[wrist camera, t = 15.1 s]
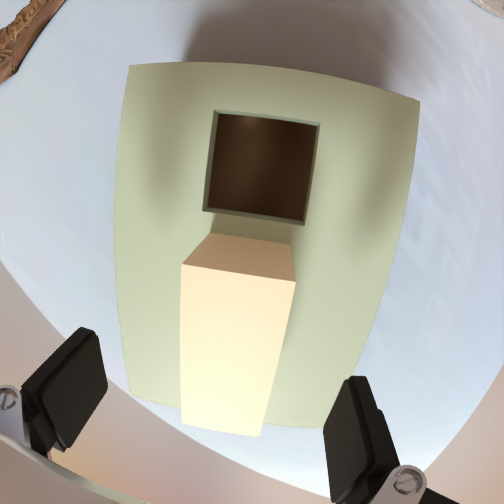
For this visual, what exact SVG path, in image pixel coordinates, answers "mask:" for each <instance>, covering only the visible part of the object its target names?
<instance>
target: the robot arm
mask: <svg viewBox="0 0 504 504" xmlns="http://www.w3.org/2000/svg"><path fill="white" fill-rule="evenodd" d="M472 1H473V2H474V3H476V4H477V5H479V6H480V7H482V8H483V9H485V10H487V11H488V12H490V13H492V14H494V15H496V16H499V17H503V18H504V0H472ZM21 388H22V389H21V390H20V391H19V390H18V389H17V388H15V387H14V386H11V385H2V386H0V504H152V503H149V502H146V501H142V500H140V499H136V498H134V497H131V496H128V495H125V494H122V493H120V492H117V491H115V490H112V489H109V488H107V487H105V486H102V485H100V484H97V483H95V482H93V481H90V480H89V479H86V478H84V477H82V476H80V475H77V474H76V473H73V472H72V471H70V470H68V469H66V468H64V467H62V466H60V465H58V464H56V463H55V462H53V461H52V457H51V452H50V450H51V448H52V447H54V448H56V449H58V450H60V451H61V452H65V450H66V448H70V447H71V446H72V445H73V443H74V442H75V440H76V438H77V437H78V435H79V434H80V432H81V430H82V429H83V427H84V426H85V424H86V422H87V421H88V419H89V418H90V416H91V415H92V413H93V412H94V410H95V409H96V407H97V405H98V404H99V403H100V401H101V399H102V398H103V396H104V395H105V393H106V392H107V388H108V383H107V378H106V374H105V369H104V364H103V359H102V354H101V349H100V343H99V338H98V336H97V335H96V334H95V332H94V331H93V330H90V329H87V328H84V327H80V328H78V329H77V330H76V331H75V332H74V333H73V334H72V335H71V336H70V337H69V338H68V339H67V340H66V341H65V342H64V343H63V344H62V345H61V346H60V347H59V348H58V349H57V350H56V351H55V352H54V353H53V354H52V355H51V356H50V357H49V358H48V359H47V360H46V361H45V362H44V363H43V364H42V365H41V366H40V367H39V368H38V369H37V370H36V371H35V372H34V373H33V374H32V375H31V376H30V377H29V378H28V379H27V381H26V382H25V383H24V384H23V385H22V386H21ZM323 435H324V443H325V451H326V460H327V468H328V477H329V486H330V496H331V501H332V503H336V504H459V503H457V502H455V501H453V500H451V499H449V498H447V497H445V496H443V495H440V494H438V493H436V492H434V491H432V490H430V489H429V488H427V487H426V485H427V482H426V477H425V475H424V473H423V472H422V471H421V470H420V469H418V468H417V467H415V466H411V465H402V466H400V463H399V460H398V456H397V453H396V450H395V447H394V444H393V441H392V438H391V435H390V432H389V429H388V426H387V423H386V420H385V417H384V414H383V412H382V411H381V410H380V409H378V408H377V405H376V402H375V399H374V397H373V394H372V391H371V388H370V385H369V383H368V380H367V378H366V377H365V376H350V377H349V379H345V380H344V382H343V384H342V386H341V388H340V391H339V393H338V395H337V398H336V400H335V402H334V404H333V407H332V409H331V411H330V413H329V415H328V417H327V419H326V421H325V424H324V427H323Z"/></svg>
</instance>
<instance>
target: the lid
mask: <svg viewBox="0 0 504 504" xmlns="http://www.w3.org/2000/svg"><path fill="white" fill-rule="evenodd" d="M419 111H420V101H417V100H415V99H412V98H409V97H406V96H403V95H400V94H397V93H394V92H391V91H388V90H384V89H381V88H378V87H374V86H371V85H367V84H363V83H359V82H355V81H351V80H347V79H343V78H339V77H334V76H329V75H324V74H319V73H314V72H308V71H302V70H296V69H289V68H282V67H274V66H265V65H255V64H242V63H224V62H170V63H152V64H140V65H130V67H129V72H128V77H127V82H126V88H125V94H124V100H123V107H122V114H121V121H120V129H119V138H118V148H117V160H116V174H115V194H114V258H115V279H116V293H117V305H118V315H119V324H120V333H121V341H122V348H123V354H124V361H125V367H126V373H127V378H128V384H129V389H130V394H131V395H132V396H135V397H138V398H142V399H145V400H148V401H152V402H155V403H159V404H163V405H166V406H170V407H174V408H178V409H182V423H184V424H188V425H192V426H197V427H202V428H207V429H212V430H217V431H222V432H228V433H234V434H241V435H248V436H255V437H259V433H260V430H261V426H262V424H268V425H277V426H288V427H301V428H320V429H323V427H324V424H325V421H326V419H327V417H328V415H329V413H330V411H331V409H332V407H333V404H334V402H335V400H336V398H337V395H338V393H339V391H340V388H341V386H342V384H343V382H344V380H345V379H349V377H350V376H352V375H353V373H354V371H355V368H356V366H357V364H358V361H359V359H360V356H361V354H362V351H363V349H364V346H365V344H366V341H367V339H368V336H369V333H370V331H371V328H372V325H373V322H374V319H375V317H376V314H377V311H378V308H379V305H380V302H381V299H382V296H383V293H384V289H385V286H386V283H387V280H388V276H389V273H390V269H391V266H392V262H393V259H394V255H395V251H396V247H397V243H398V239H399V235H400V231H401V227H402V222H403V218H404V213H405V208H406V204H407V199H408V193H409V188H410V182H411V176H412V170H413V164H414V157H415V149H416V141H417V133H418V123H419ZM219 113H222V114H234V115H245V116H254V117H263V118H271V119H278V120H285V121H291V122H298V123H304V124H309V125H315V126H317V131H316V138H315V145H314V152H313V159H312V166H311V173H310V179H309V185H308V192H307V198H306V204H305V210H304V216H303V221H299V220H293V219H286V218H280V217H273V216H267V215H260V214H253V213H246V212H239V211H232V210H224V209H217V208H209V207H208V198H209V189H210V179H211V171H212V162H213V154H214V146H215V138H216V130H217V123H218V116H219Z"/></svg>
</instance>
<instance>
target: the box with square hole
mask: <svg viewBox="0 0 504 504" xmlns="http://www.w3.org/2000/svg"><path fill="white" fill-rule="evenodd" d="M316 131H317V126H315V125H309V124H304V123H298V122H291V121H285V120H278V119H271V118H263V117H254V116H245V115H234V114H222V113H219V116H218V123H217V130H216V138H215V146H214V154H213V162H212V171H211V179H210V189H209V198H208V207H209V208H217V209H224V210H232V211H239V212H246V213H253V214H260V215H267V216H273V217H280V218H286V219H293V220H299V221H303V216H304V210H305V204H306V198H307V192H308V185H309V179H310V173H311V166H312V159H313V152H314V145H315V138H316Z"/></svg>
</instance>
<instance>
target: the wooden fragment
mask: <svg viewBox="0 0 504 504" xmlns="http://www.w3.org/2000/svg"><path fill="white" fill-rule="evenodd" d="M64 1H65V0H31V1H30V4H29V5H27V6H26V7H24V8H23V9H22V10H21V11H20V12H19V13H18V14H17V15H16V18H15V21H12V23H11V24H9V25H8V26H7V27H5V29H4V30H0V84H2V83H3V82H4V81H5V80H7V79H8V78H9V77H11V76H13V75H14V74H15V73H16V71H17V69H18V65H19V64H20V62H21V60H22V59H23V57H24V55H25V54H26V52H27V51H28V49H29V48H30V46H31V45H32V43H33V42H34V40H35V39H36V37H37V36H38V34H39V33H40V32H41V30H42V29H43V28H44V26H45V25H46V24H47V22H48V21H49V19H50V18H51V17H52V16H53V14H54V13H55V12H56V11H57V10H58V8H59V7H60V6H61V5H62V4H63V2H64ZM12 70H14V74H13V75H12Z"/></svg>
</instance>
